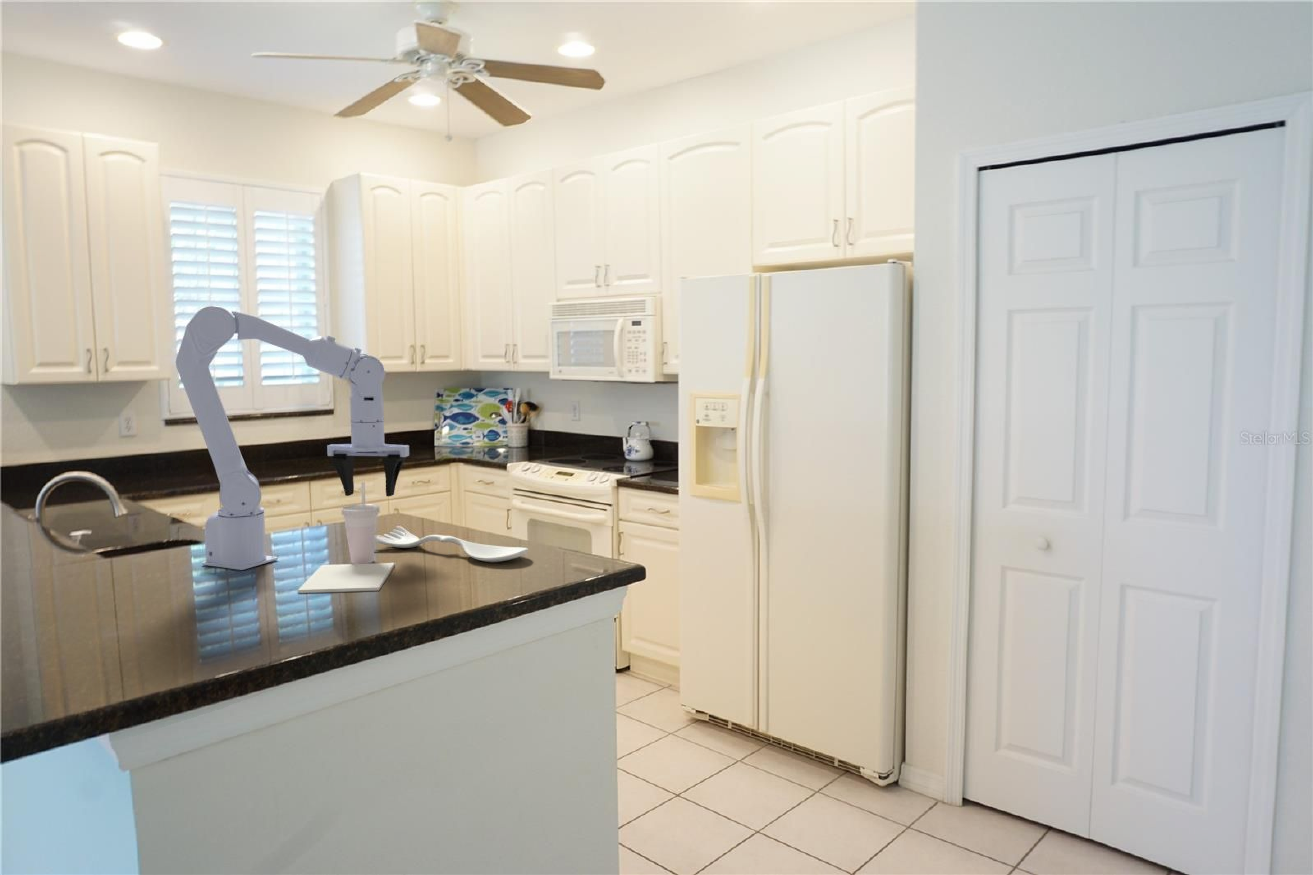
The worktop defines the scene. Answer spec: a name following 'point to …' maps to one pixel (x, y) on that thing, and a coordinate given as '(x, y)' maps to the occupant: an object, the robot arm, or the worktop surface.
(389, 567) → the mat
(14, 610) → the worktop surface
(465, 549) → the white plastic utensil
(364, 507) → the smoothie
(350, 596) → the worktop surface
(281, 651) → the worktop surface
